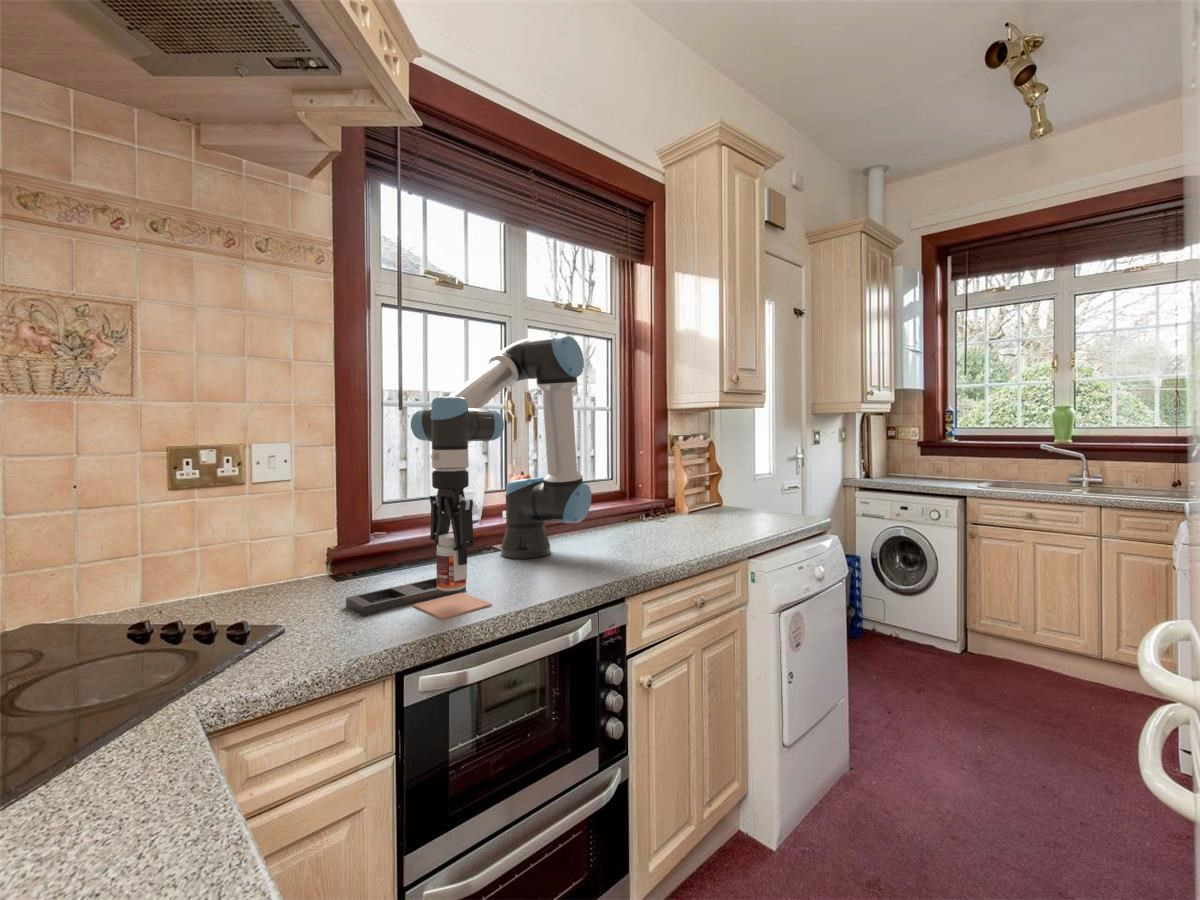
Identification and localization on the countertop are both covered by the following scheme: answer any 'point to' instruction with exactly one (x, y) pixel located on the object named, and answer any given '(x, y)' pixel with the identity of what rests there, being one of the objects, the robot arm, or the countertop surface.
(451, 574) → the pill bottle
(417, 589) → the compartment tray
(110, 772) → the countertop surface
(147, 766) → the countertop surface
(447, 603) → the plate
